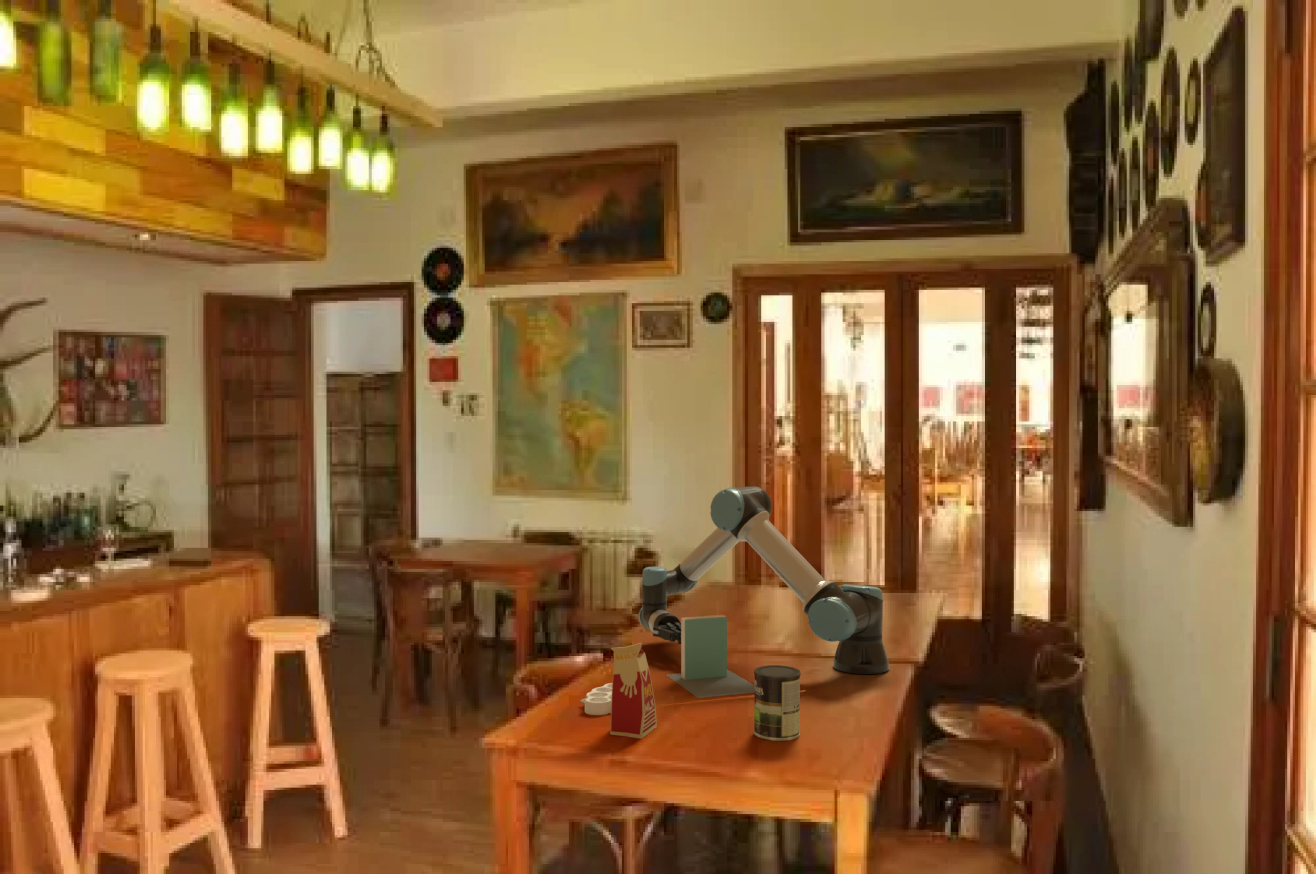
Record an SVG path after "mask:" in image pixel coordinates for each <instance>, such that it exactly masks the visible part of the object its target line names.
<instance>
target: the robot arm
mask: <svg viewBox="0 0 1316 874" xmlns="http://www.w3.org/2000/svg"><path fill="white" fill-rule="evenodd" d="M772 512H773V501H772V499H771V496H770V494H769V493H768V492H767V491H766V490H764V489H763V488H761V487H759V486H756V485H755V486H754V485H749V486H748V485H747V486H741V487H740V486H739V487H727V488H726V489H722V490H719V492H717V493H716V494H715V495H714V497H713V498H712V500H711V503H710V513H709V514H710V518H711V521H712V522H713V524H714V525H715V526H716V529H714V530H713V531H712V532H711V533H710V534H709V535H708V536H707V537H706V538H705V539H704V540H703V541H702V542H701V543H700V544H698V545H697V547H695V548H694V549H693V551H691V552H690V553H689V554H688V555H687V556H686V557H684V559H683V560H681V561H680V563H679V564H678V565H677V566H675V567H674V568H673V569H671V570H667V568H665V567H663V566H648V567H647V566H646V567H645V568H643V570H642V578H641V583H642V584H641V585H642V586H641V590H642V591H641V592H642V593H641V594H642V597H641V599H642V600H641V601H642V602H641V603H642V604H641V608H640V610H639V611H638V618H637V619H638V621H639V623H640V625H641V626H642V627H643V628H644V629H645V630H647V631H649V632H652V636H653V637H656V638H661V639H663V640H664V641H669V642H672V643H674V642H676V641H677V644H678V645H681V620H680V619H679V617H677V616H676V615H674V614H673V613H671V612H668V611H667V610H668V606H667V605H668V597H669V596H672V595H673V596H674V595H677V594H681V593H687V592H689V591H692V590H693V589H695V588H696V586H697V583H698V582H699V581H698V580H699V579H701V577H703V576H704V575H705V574H706V573H707V572H708V571H709V570H710V569H711V568H712V567H713V566H714V565H716V563H718V562H719V561H720V560H721V559H722V558H723V557H724V556H725V555H726V554H727V553H729V552H730V550H732V549H733V548H734V547H735V546H736V545H737V544H738V543H740V542H746V543H748V544H749V546H750V547H751V548H752V549H753V550H754V551H755V552H756V553H757V555H759V556H760V558H761V559H762V560H763V561H764V562H765V563H766V564H767V565H768V566H769V567H770V569H772V570H773V572H774V573H775V574H776V575H777V576H778V577H779V578H780V579H781V580H782V582H784V583H785V584H786V586H787V587H788V588H789V589H790V590H791V591H792V592H793V593H794V595H796V597H797V598H799V600H800V601H801V602H802V603H803V604H802V611H803V613H805V615H807V619H808V623H807V624H808V626H809V628H810V630H811V631H812V632H813V634H814V635H815V636H817V638H819V639H821V640H824V641H825V642H838V643H837V647H836V650H835V654H834V657H833V668H834V669H836V670H837V671H840V672H843V673H849V674H855V675H875V674H882V673H885V672H886V673H887V672H888V671H889V669H890V668H889V666H890V665H889V664H890V662H889V658H888V655H887V653H886V649H885V646H884V641H883V618H884V616H883V613H884V612H883V611H884V610H883V609H884V608H883V607H884V604H883V603H884V599H883V591H882V589H880V588H879V587H876V586H869V585H861V584H842V585H840V586H839V585H838V584H837V582H835V581H829V580H825V578H824V577H823V576H822V575H821V574H820V573H819V572H818V571H817V570H816V569H815V567H813V566H812V565H811V563H810V562H809V561H807V560H808V559H806V558H805V557H804V556H803V555H802V554H801V553H800V552H799V551H798V550H797V549H796V548H795V547H794V545H793V544H792V543H790V541H789V540H788V539H787V538H786V537H785V536H784V535H783V534H782V532H780V531H779V529H778V528H777V527H775V525H774V524H773V523H772V522H771V521H770V517H771V515H772Z"/></svg>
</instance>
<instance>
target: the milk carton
mask: <svg viewBox="0 0 1316 874" xmlns="http://www.w3.org/2000/svg"><path fill="white" fill-rule="evenodd" d="M642 645H643V642H639V643H636V644H632V645H628V646H620V647H619V646H618V647H611V648H610V650H612V651H613V670H612V671H613V672H612V682H611V683H612V699H611V713H610V727H609V728H610V730H609V731H610V733H609V734H610V735H611V736H622V737H629V738H636V739H643V738H644V737H645V736H647V735H648V734H650V733H651V732H652V731H654V730H655V729H656V728H657V727H658V725H657V724H658V721H657V711H656V710H657V709H656V701H655V695H654V694H655V693H654V689H653V681H652V677H651V672H650V667H649V663H648V661H647V660H648V659H647V656H646V655H647V654H646V652H645V651H644V650H643V648H642ZM654 728H655V729H654ZM653 729H654V730H653Z"/></svg>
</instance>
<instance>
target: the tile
mask: <svg viewBox="0 0 1316 874" xmlns="http://www.w3.org/2000/svg"><path fill="white" fill-rule="evenodd" d="M680 623H681V644H680V647H681V648H680V649H681V650H680V653H681V656H680V660H681V661H680V663H681V666H680V670H681V672H680V673H681V678H683V679H684V680H692V679H703V678H714V677H724V676H727V669H728V616H726V615H724V614H716V615H715V614H714V615H703V616H702V615H701V616H688V617H686V616H685V617H681V618H680Z"/></svg>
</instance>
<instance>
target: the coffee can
mask: <svg viewBox="0 0 1316 874" xmlns="http://www.w3.org/2000/svg"><path fill="white" fill-rule="evenodd" d="M801 673H802V672H801V670H800V669H798V668H796V667H793V666H790V665H789V666H788V665H782V664H781V665H780V664H779V665H777V664H775V665H774V664H773V665H771V664H769V665H762V666H758V667H756V668H754V670H753V674H754V680H753V681H754V683H753V685H754V693H753V694H754V698H753V699H754V703H753V704H754V710H753V711H754V716H753V717H754V719H753V720H754V722H753V723H754V724H753V726H754V729H753V735H754V736H756V737H757V738H759V739H762V740H766V741H773V742H787V741H793V740H795V739H798V738H799V737H800V735H801V733H800V725H801V724H800V723H801V721H800V719H801V716H800V714H801V713H800V711H801V710H800V709H801V675H802V674H801Z"/></svg>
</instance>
